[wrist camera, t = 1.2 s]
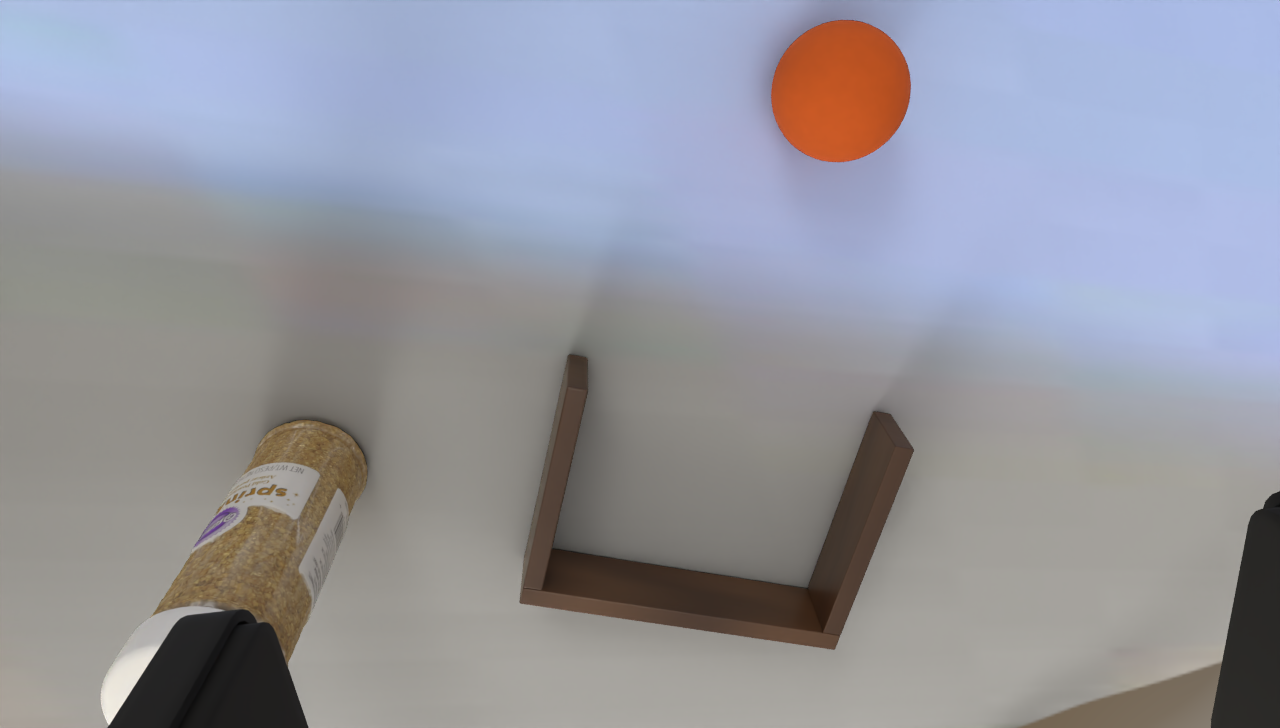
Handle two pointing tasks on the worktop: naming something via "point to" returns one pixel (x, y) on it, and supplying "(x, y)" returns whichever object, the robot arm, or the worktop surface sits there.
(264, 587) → the sprinkles bottle
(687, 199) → the worktop surface
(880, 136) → the ball
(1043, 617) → the worktop surface
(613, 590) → the brown u-shaped piece
